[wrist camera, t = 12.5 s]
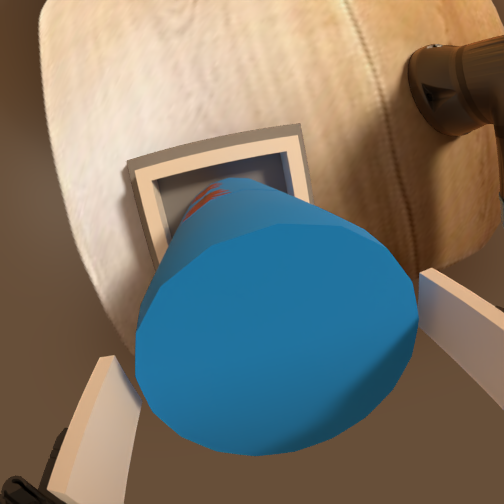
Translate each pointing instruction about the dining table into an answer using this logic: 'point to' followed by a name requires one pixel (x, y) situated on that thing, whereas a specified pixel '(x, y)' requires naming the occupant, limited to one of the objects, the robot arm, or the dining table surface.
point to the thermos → (271, 323)
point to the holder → (214, 175)
